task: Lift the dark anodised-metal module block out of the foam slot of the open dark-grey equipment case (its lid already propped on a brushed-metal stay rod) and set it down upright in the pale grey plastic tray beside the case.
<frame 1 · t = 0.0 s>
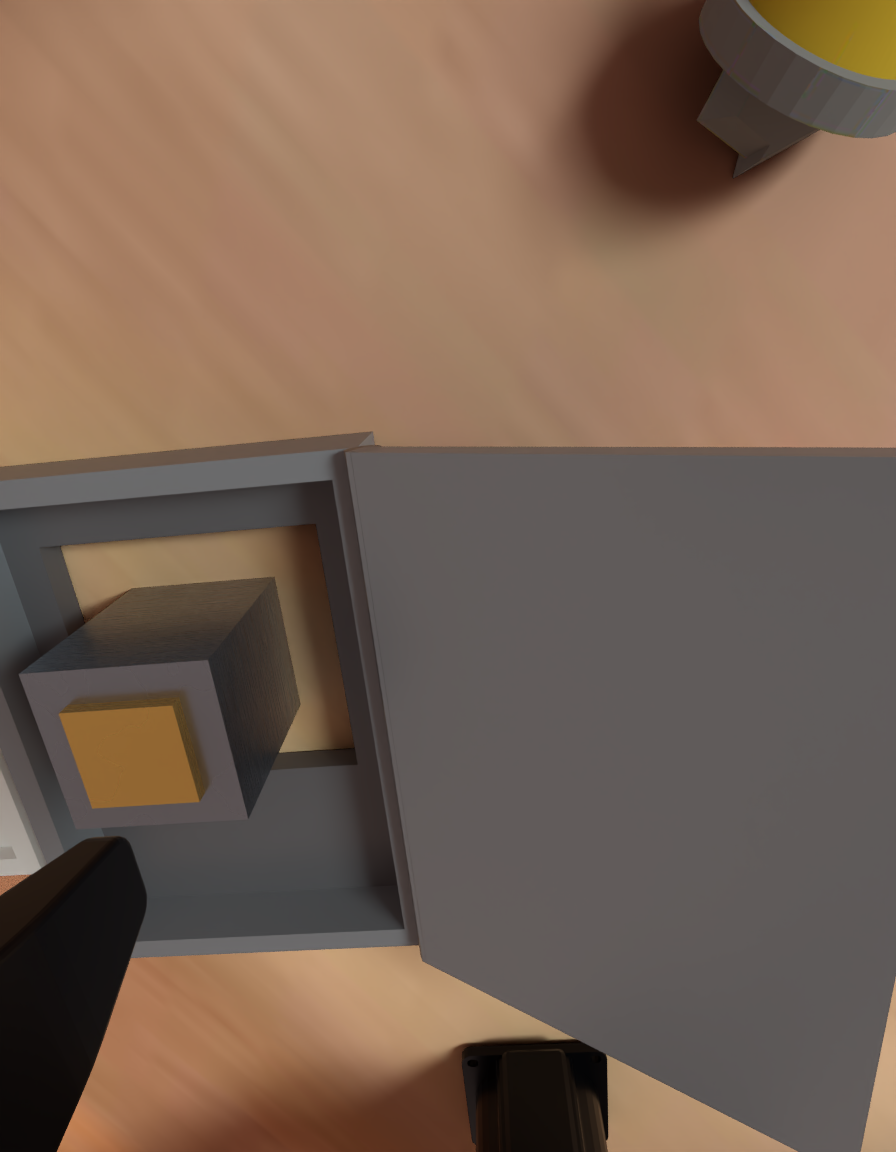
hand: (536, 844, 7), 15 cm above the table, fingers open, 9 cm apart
case: (230, 698, 23), on the table
module: (219, 647, 23), resting in case
drill bit: (773, 29, 16), on the table
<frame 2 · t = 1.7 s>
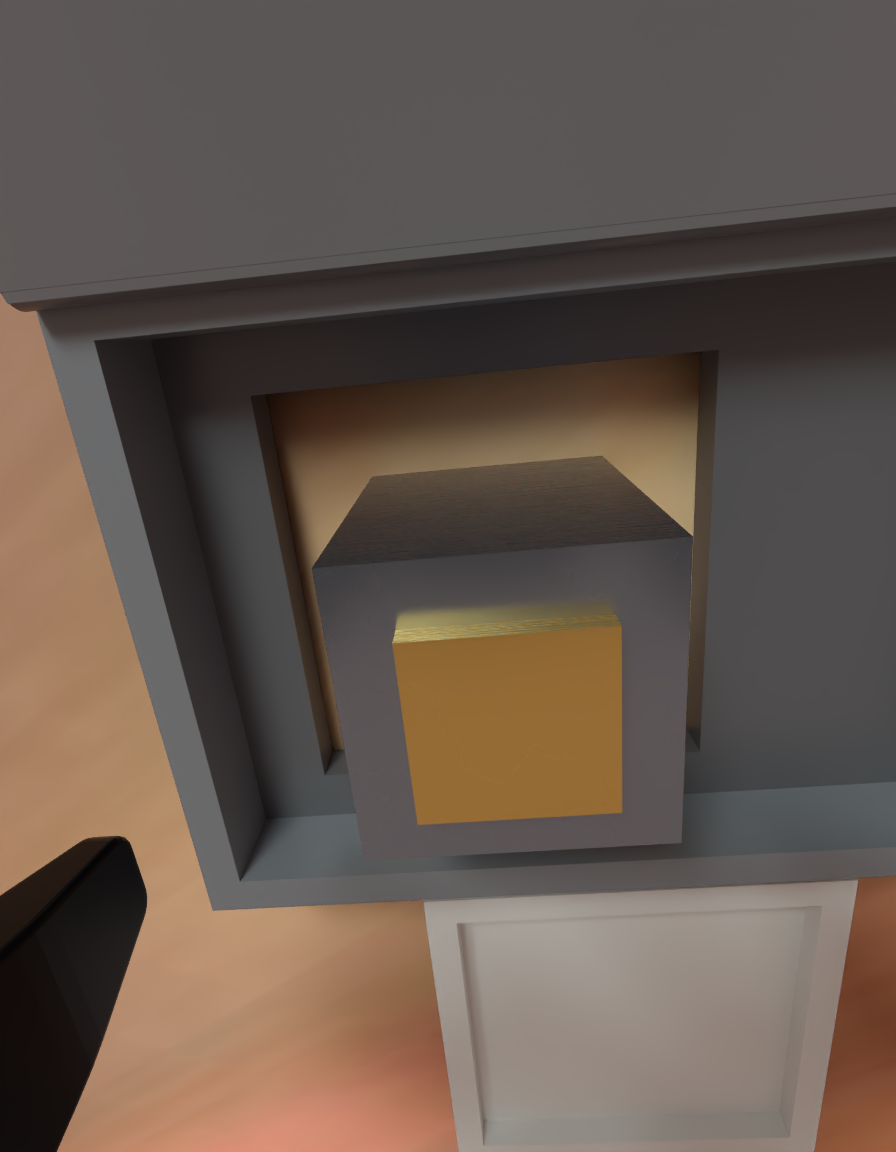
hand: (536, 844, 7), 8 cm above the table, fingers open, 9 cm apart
case: (581, 567, 15), on the table
tray: (625, 998, 20), on the table
module: (493, 572, 15), resting in case
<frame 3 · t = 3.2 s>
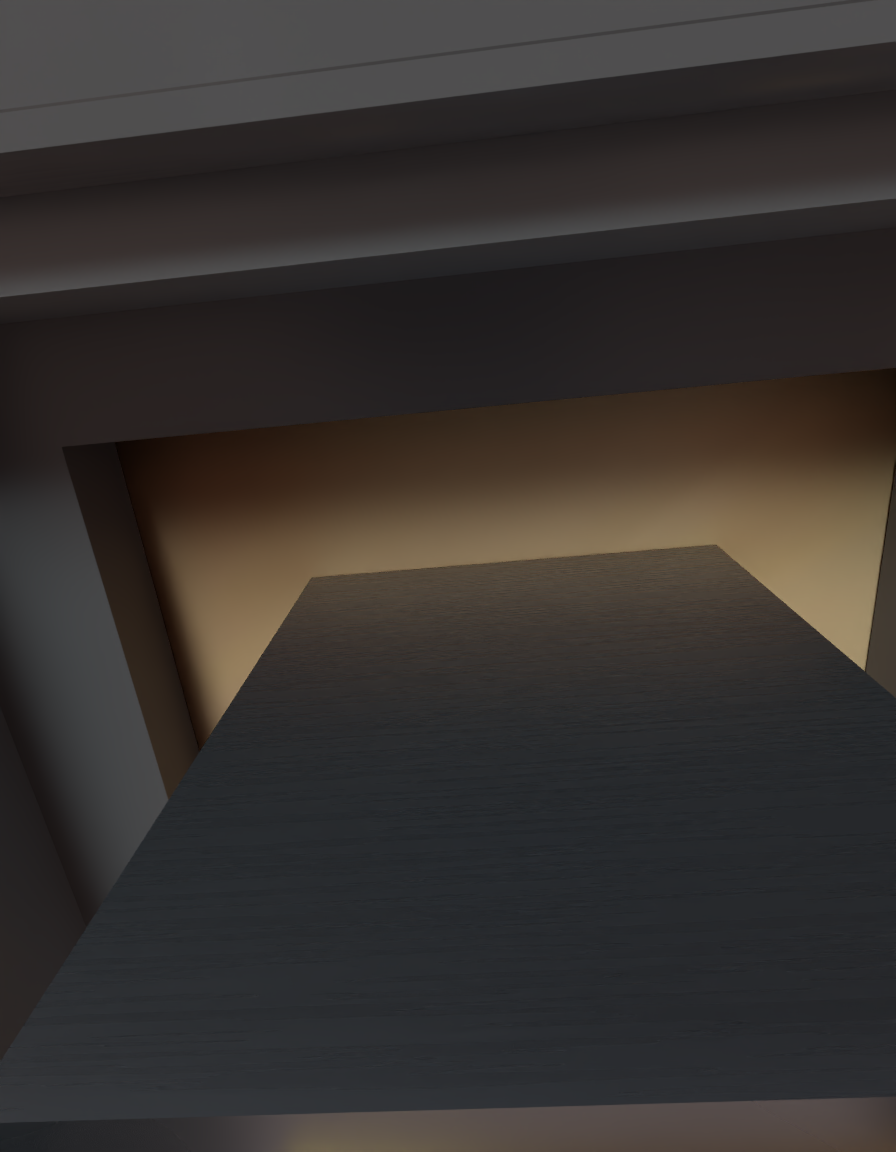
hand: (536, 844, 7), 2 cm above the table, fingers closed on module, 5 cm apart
case: (668, 725, 9), on the table
module: (521, 733, 9), resting in case, touching gripper
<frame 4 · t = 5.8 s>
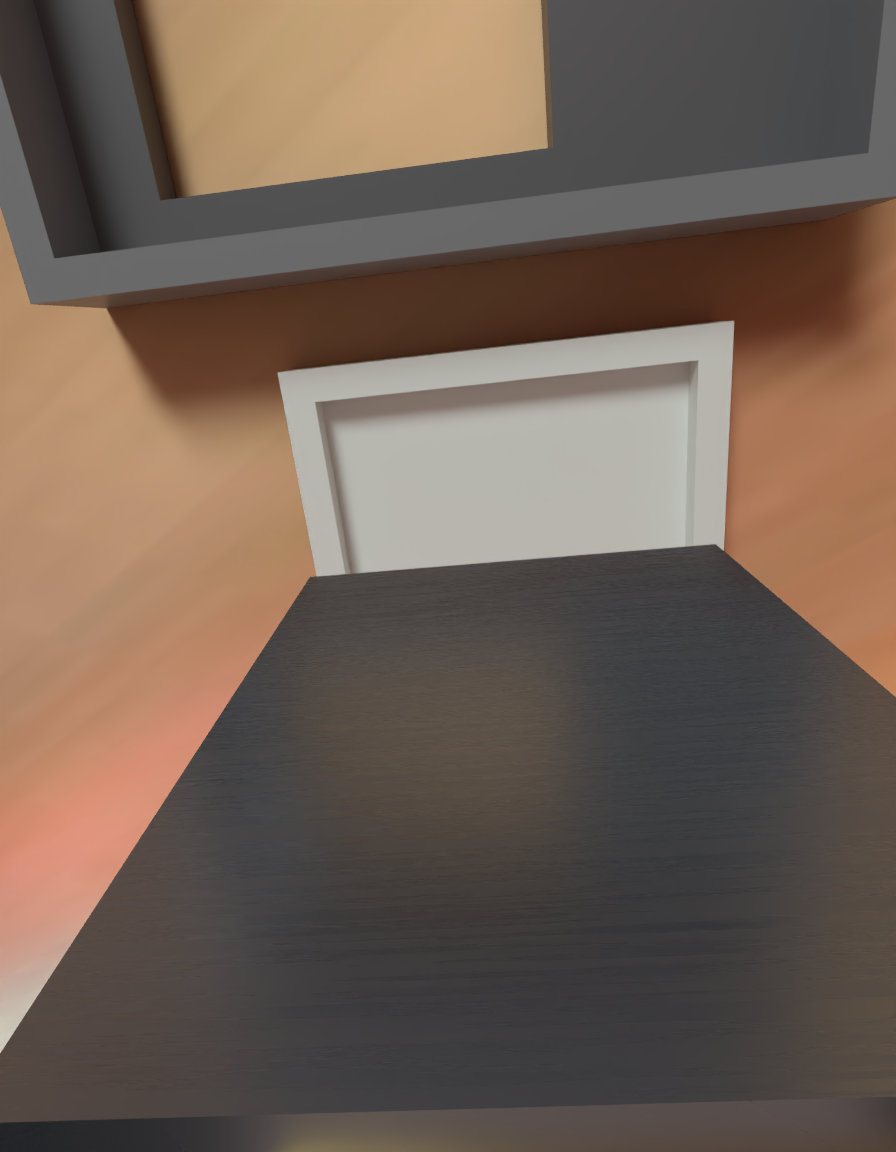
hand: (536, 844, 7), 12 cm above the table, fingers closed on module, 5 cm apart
tray: (513, 547, 19), on the table
module: (520, 732, 9), point 10 cm above the table, touching gripper
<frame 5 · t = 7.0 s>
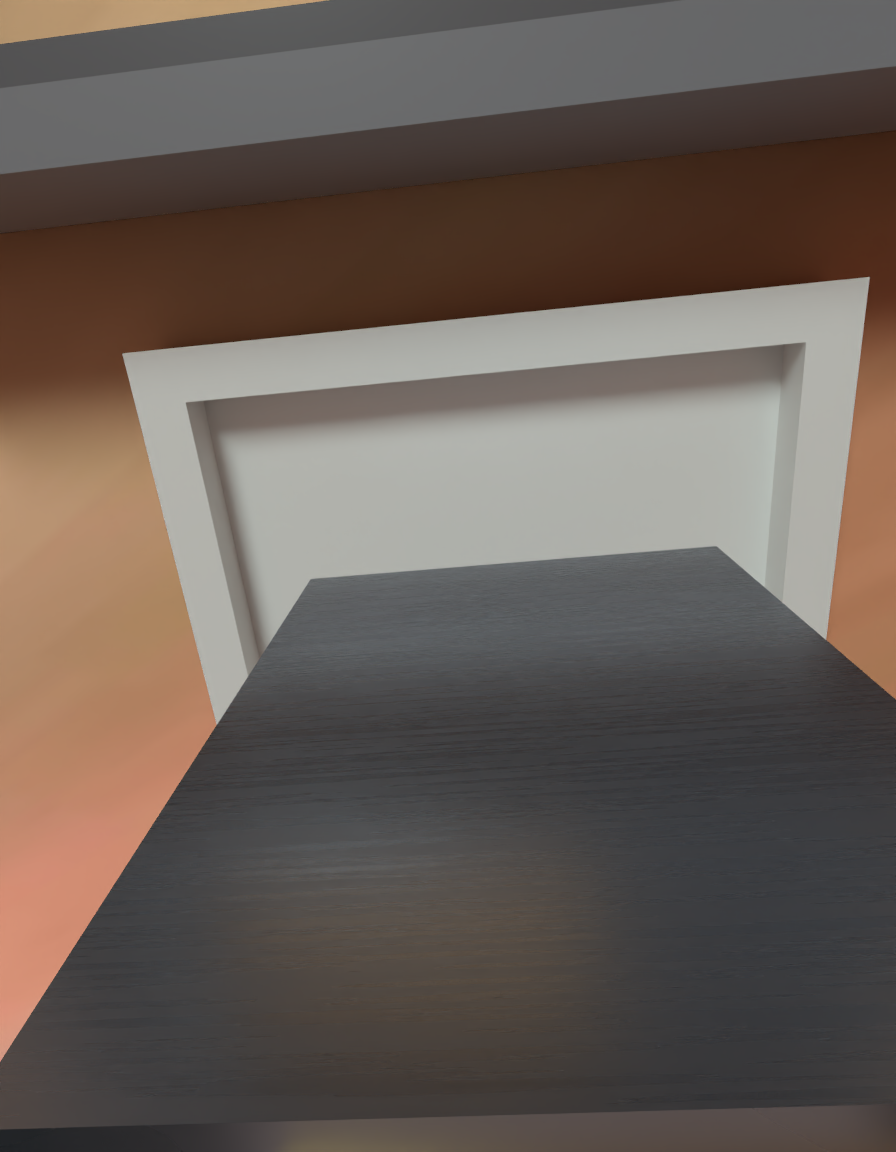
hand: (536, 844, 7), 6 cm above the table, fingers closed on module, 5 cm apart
tray: (503, 622, 13), on the table
module: (521, 734, 9), point 4 cm above the table, touching gripper
when the fingers open (3 cm above the table, at t = 8.3 s): module stays where it is, resting on tray.
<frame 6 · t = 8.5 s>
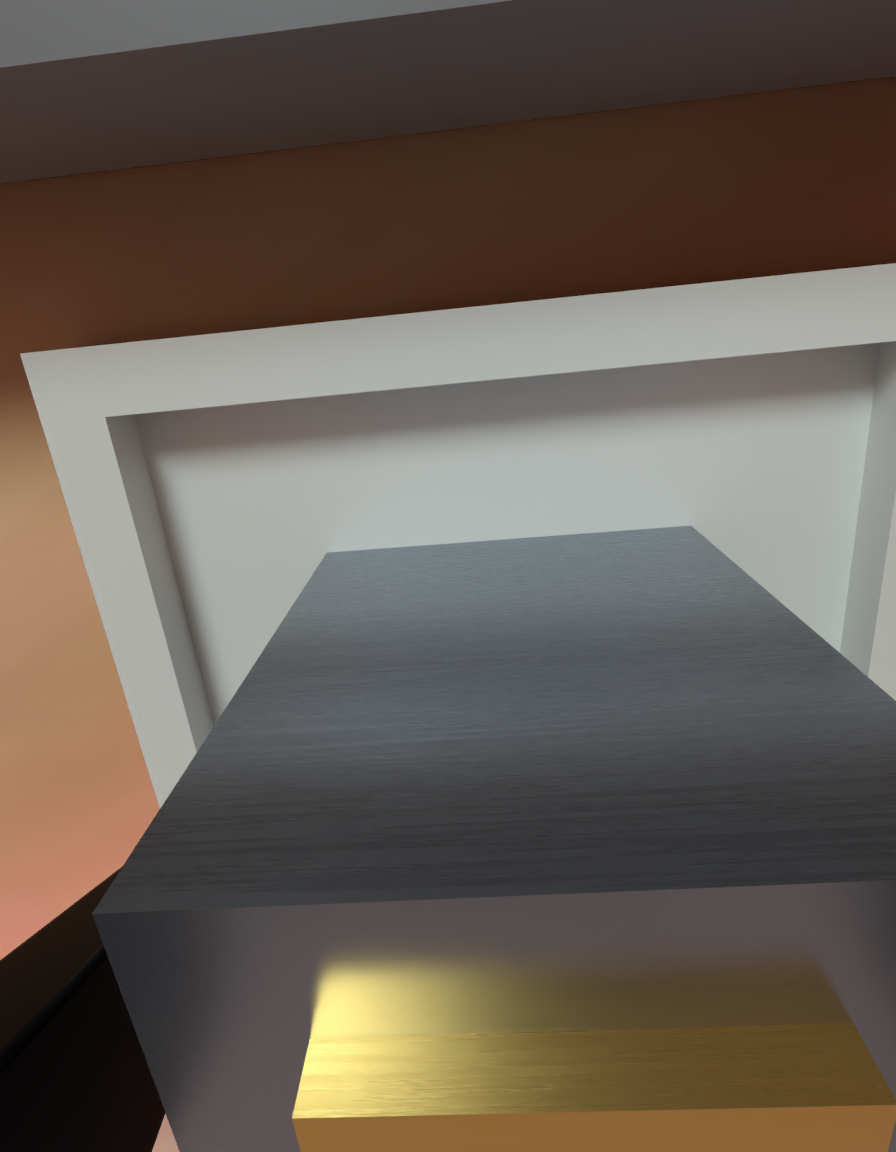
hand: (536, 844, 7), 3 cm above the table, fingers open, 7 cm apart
tray: (513, 682, 10), on the table
module: (515, 697, 10), resting on tray
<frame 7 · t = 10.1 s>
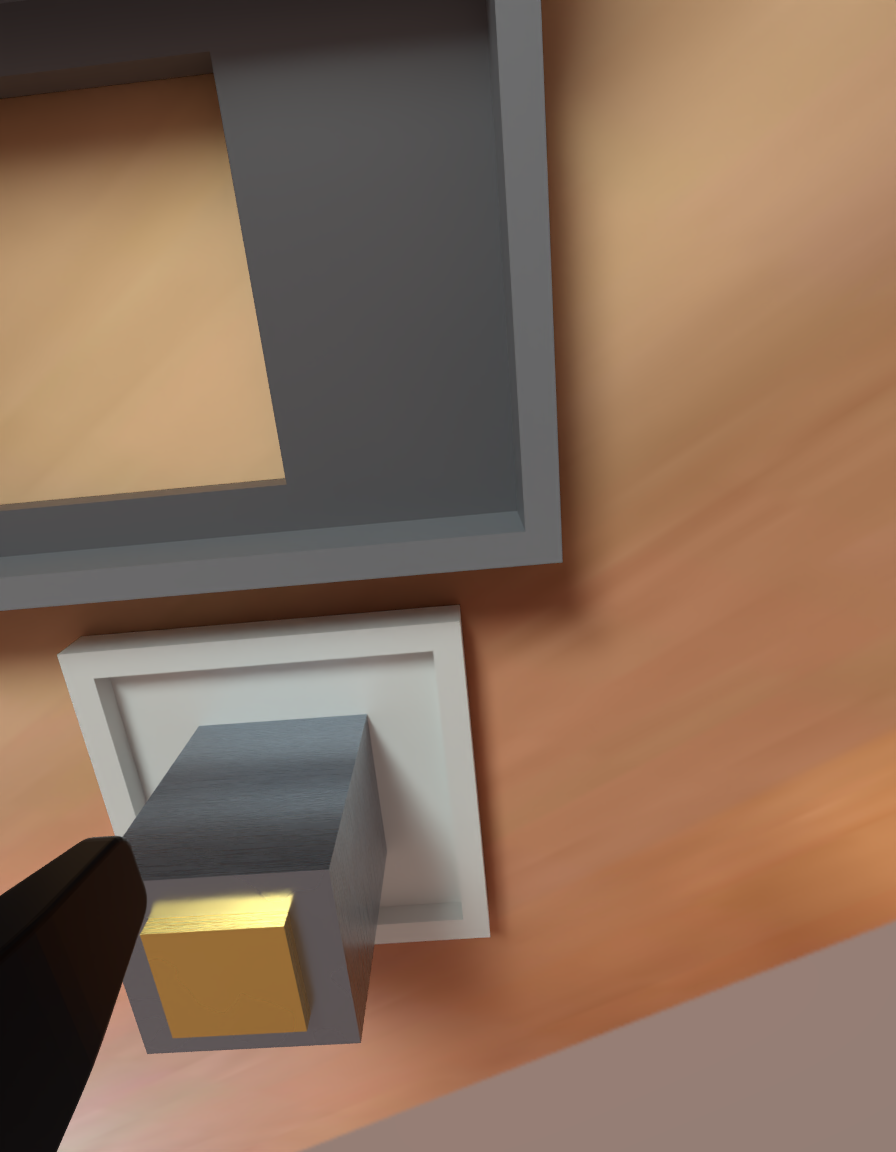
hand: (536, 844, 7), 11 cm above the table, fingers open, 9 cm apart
case: (163, 303, 16), on the table
tray: (300, 781, 20), on the table
module: (296, 791, 20), resting on tray
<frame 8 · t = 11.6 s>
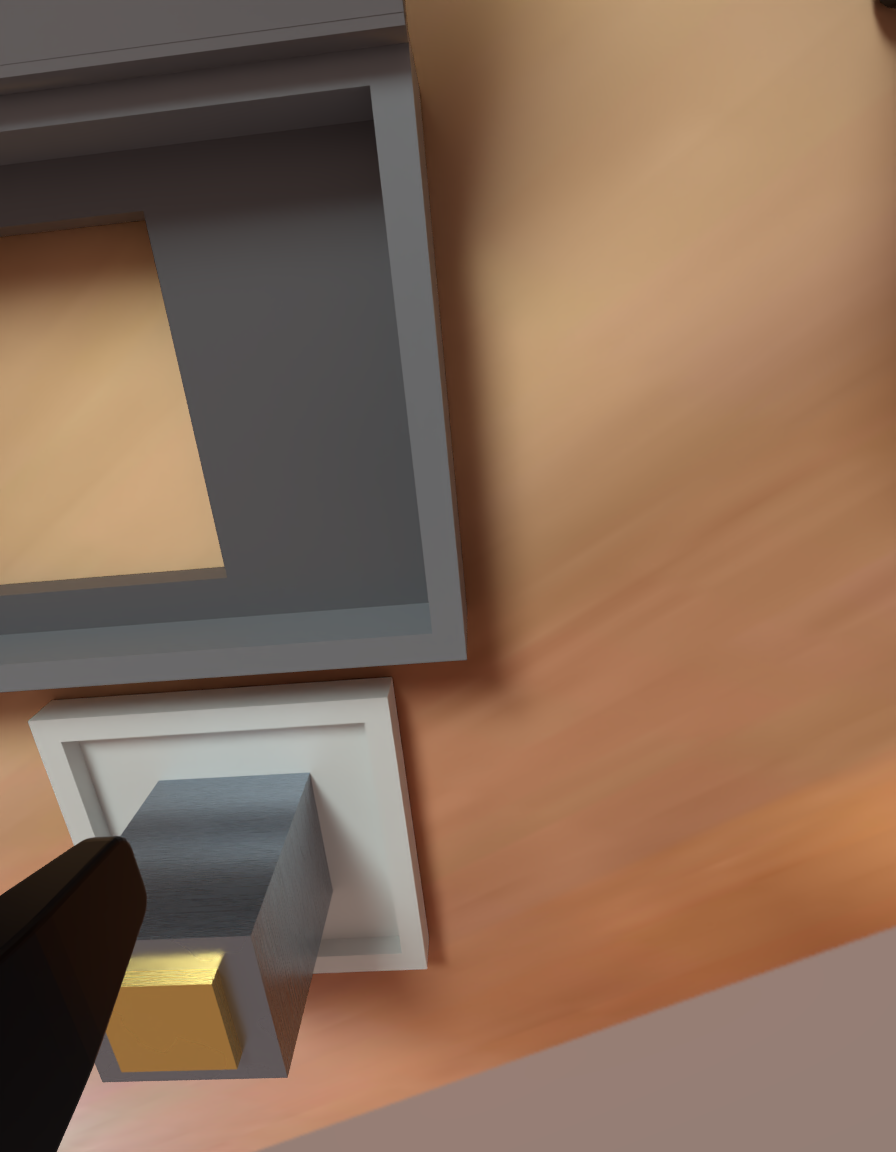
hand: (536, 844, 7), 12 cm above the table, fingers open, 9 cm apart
case: (114, 416, 17), on the table
tray: (253, 828, 22), on the table
module: (248, 837, 22), resting on tray
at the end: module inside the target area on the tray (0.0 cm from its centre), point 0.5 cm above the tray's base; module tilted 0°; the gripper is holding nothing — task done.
